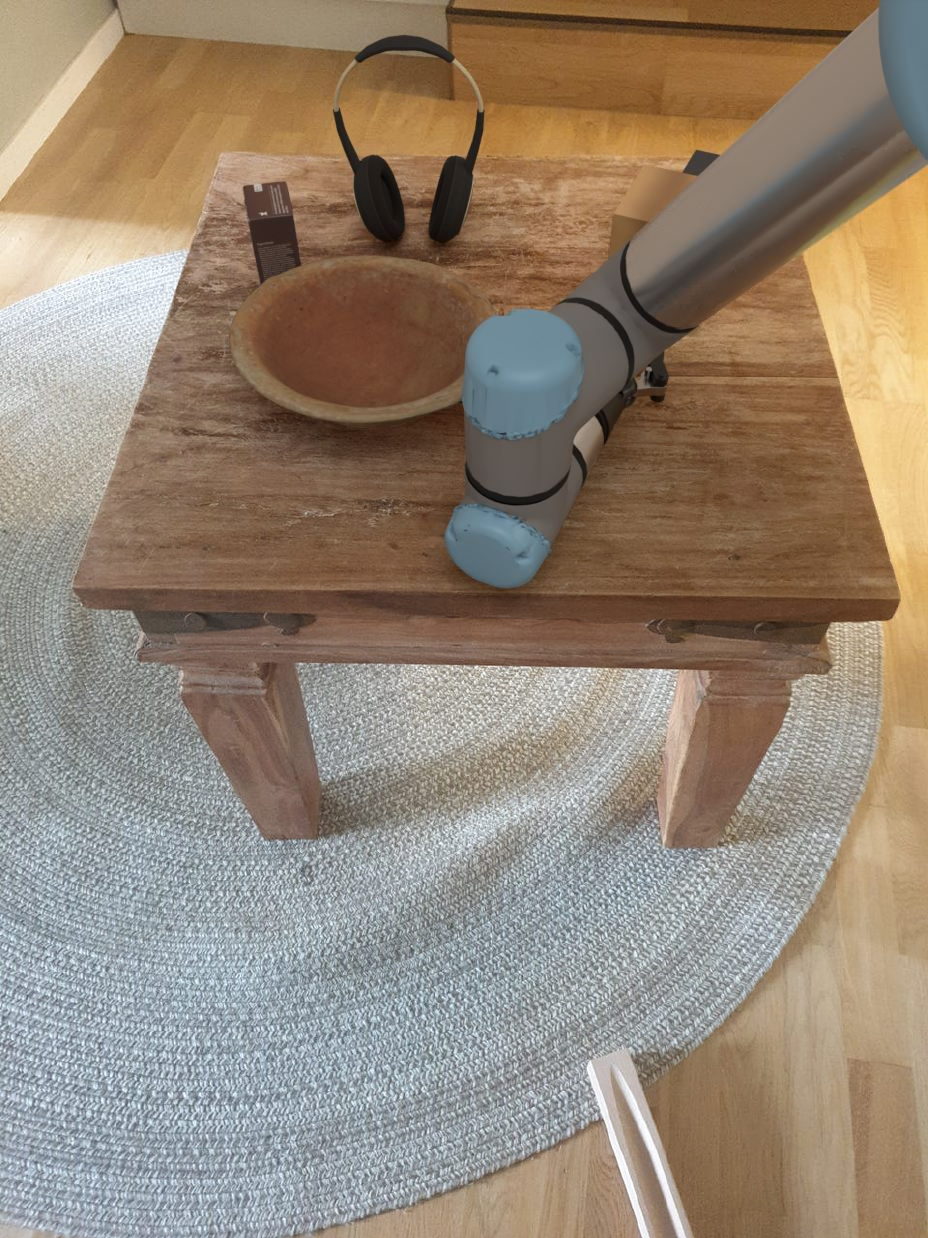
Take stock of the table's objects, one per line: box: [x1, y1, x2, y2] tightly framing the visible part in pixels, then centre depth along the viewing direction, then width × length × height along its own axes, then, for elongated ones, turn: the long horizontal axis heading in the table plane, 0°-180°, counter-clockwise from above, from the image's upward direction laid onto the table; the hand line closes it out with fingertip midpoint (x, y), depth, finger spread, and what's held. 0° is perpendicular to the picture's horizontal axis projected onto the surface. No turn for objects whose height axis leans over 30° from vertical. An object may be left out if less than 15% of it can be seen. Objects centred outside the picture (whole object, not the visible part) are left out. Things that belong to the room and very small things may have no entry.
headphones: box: [332, 34, 486, 245], centre depth 92 cm, size 9×15×20 cm, turn 87°
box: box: [242, 180, 302, 286], centre depth 89 cm, size 6×4×12 cm
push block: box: [607, 164, 697, 260], centre depth 90 cm, size 9×9×10 cm
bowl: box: [228, 255, 498, 429], centre depth 83 cm, size 24×24×8 cm
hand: (655, 263), depth 87 cm, fingers closed
